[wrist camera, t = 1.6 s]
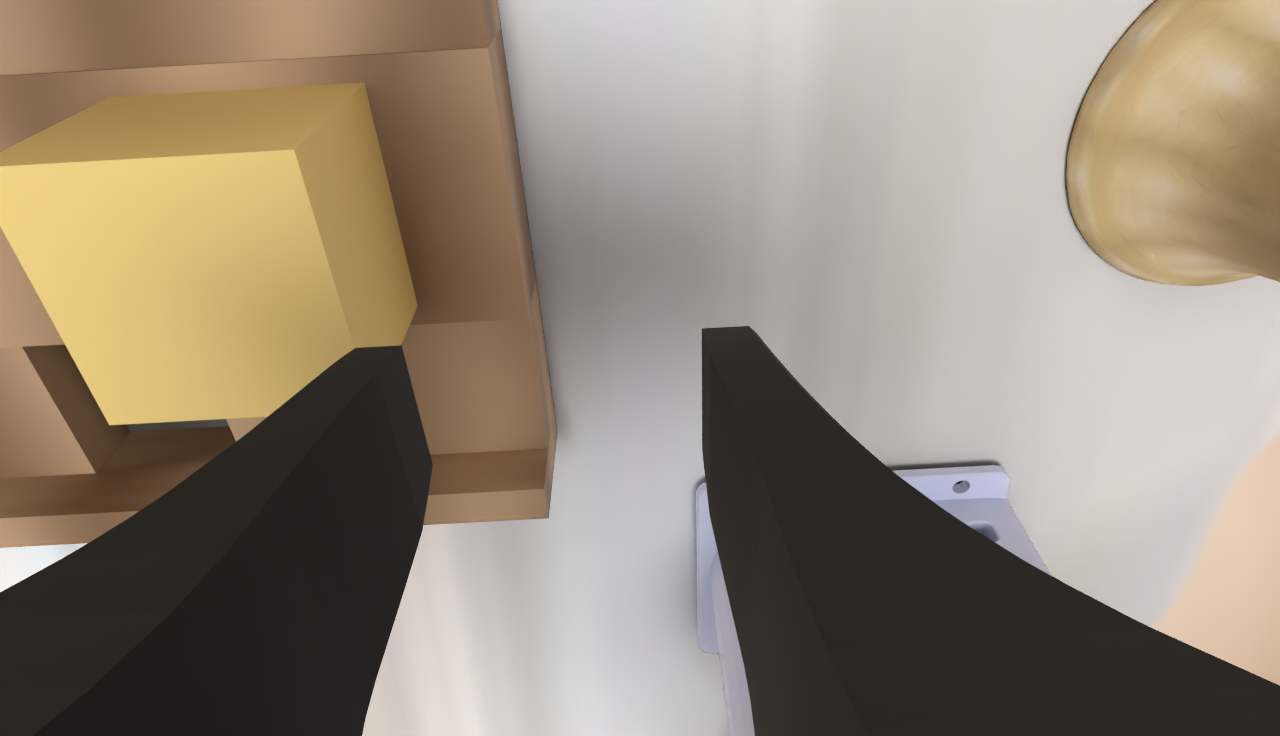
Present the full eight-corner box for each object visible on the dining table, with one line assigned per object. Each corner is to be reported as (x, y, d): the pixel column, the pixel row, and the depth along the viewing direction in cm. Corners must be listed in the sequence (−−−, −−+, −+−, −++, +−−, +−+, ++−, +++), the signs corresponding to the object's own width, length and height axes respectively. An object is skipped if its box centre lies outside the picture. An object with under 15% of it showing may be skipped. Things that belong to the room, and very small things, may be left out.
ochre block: (363, 82, 15) (294, 150, 12) (417, 306, 18) (373, 410, 15) (109, 96, 15) (-32, 167, 12) (202, 317, 18) (109, 425, 15)
